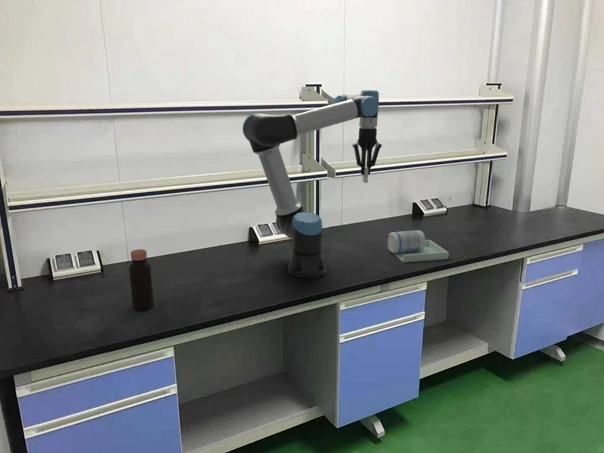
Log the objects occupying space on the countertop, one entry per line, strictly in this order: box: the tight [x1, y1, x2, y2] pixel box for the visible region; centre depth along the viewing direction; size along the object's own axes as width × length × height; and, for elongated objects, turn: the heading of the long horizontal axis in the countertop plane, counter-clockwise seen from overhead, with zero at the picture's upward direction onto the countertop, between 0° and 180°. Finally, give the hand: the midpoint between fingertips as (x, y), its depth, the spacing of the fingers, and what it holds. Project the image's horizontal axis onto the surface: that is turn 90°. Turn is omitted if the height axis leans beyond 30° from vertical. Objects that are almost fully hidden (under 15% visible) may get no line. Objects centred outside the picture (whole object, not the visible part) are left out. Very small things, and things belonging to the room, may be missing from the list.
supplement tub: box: [387, 230, 427, 254], centre depth 222 cm, size 10×10×15 cm
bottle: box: [128, 248, 155, 312], centre depth 164 cm, size 7×7×20 cm
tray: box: [387, 239, 450, 264], centre depth 222 cm, size 21×18×3 cm
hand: (364, 182), depth 216 cm, fingers closed
